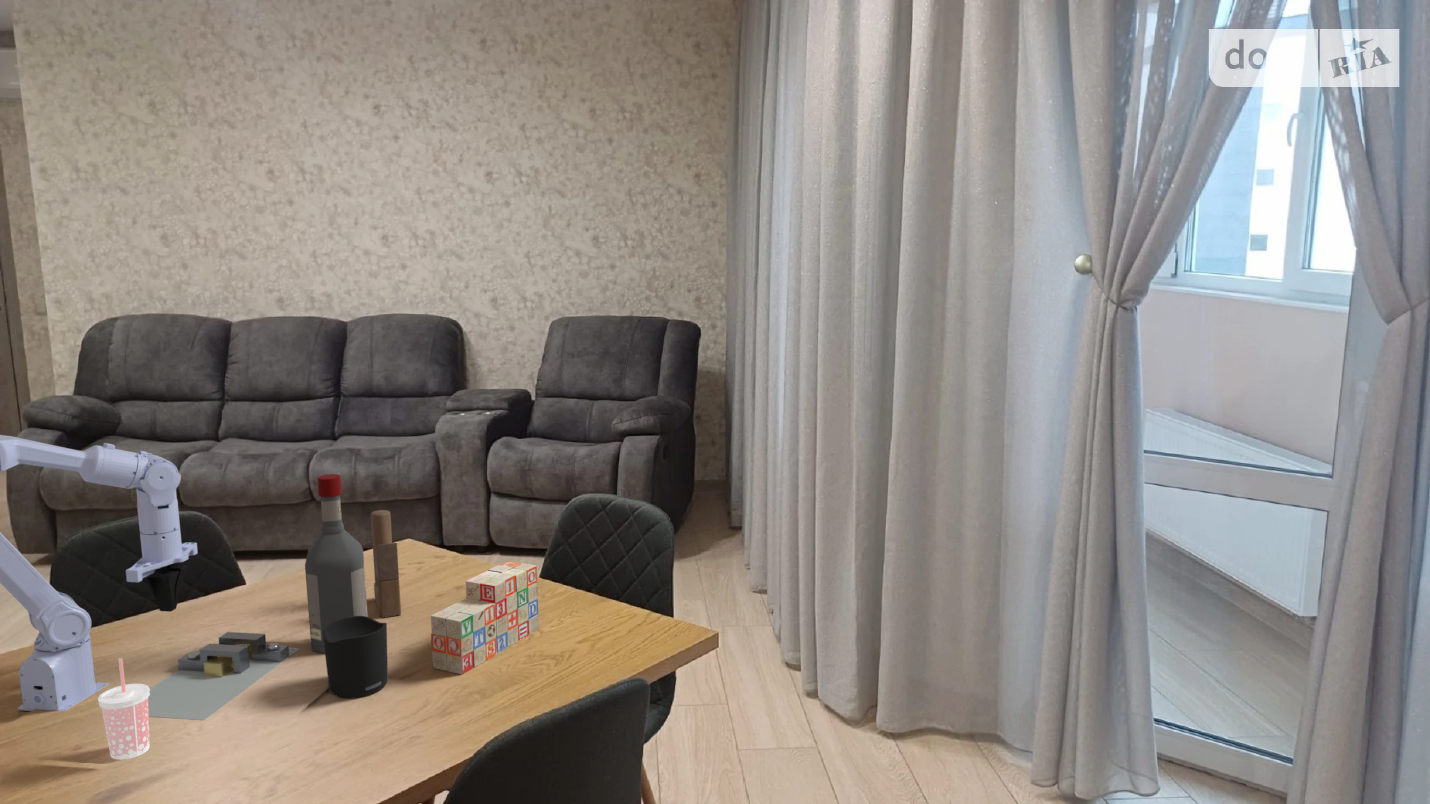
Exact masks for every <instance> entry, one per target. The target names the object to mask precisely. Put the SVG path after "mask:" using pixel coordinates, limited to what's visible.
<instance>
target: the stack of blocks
mask: <svg viewBox="0 0 1430 804" xmlns="http://www.w3.org/2000/svg"><path fill="white" fill-rule="evenodd" d="M538 582H539V581H538V566H537V565H535V564H531V563H530V564H529V563H522V562H517V561H507V562H504V563H502V564H498V565H495V566H493V567H491V568H489V569H488V570H486V571H483V572H482V573H480V574H478V575H476V576H473V577H471V578H469V579H468V580H466V581H465V594H466V595H465V598H464V599H461V600H460V601H458V602H456V603H453V604H452V605H449V606H448V607H444V608H443V609H442V610H440V611H437V612H435V613H434V614H431V615H430V624H431V625H430V626H431V633H430V638H431V639H430V640H431V641H430V642H431V654H432V655H431V656H432V668H433V669H436V670H437V669H438V670H441V671H446V672H449V673H454V674H459V675H463V674H465V673H467V672H468V671H470V670H471V669H473V668H475V667H478V666H479V665H481V664H483V663H484V662H485V661H488V660H489V658H490V659H491V658H493V657H495V656H496V655H495V654H497V653H498V652H499V651H501V652H502V650H503V649H505V648H506V647H508V646H509V645H511V644H513V645H514V643H515V642H516V641H518V642H520V641H521V640H520V639H522V638H523V637H525V638H527V637H529V636H530V635H529V634H531V635H532V634H534V633H536V632H537V631H539V630H540V623H539V622H540V621H539V619H540V618H539V617H540V616H539V585H538ZM538 629H539V630H538ZM536 630H537V631H536ZM535 631H536V632H535ZM533 632H534V633H533ZM528 635H529V636H528ZM526 636H527V637H526ZM519 640H520V641H519ZM522 640H523V639H522ZM516 643H517V642H516ZM516 643H515V644H516ZM511 646H512V645H511ZM508 648H509V647H508ZM506 649H507V648H506ZM506 649H505V650H506ZM503 651H504V650H503ZM498 654H499V653H498ZM494 655H495V656H494ZM487 659H488V660H487ZM477 665H478V666H477Z"/></svg>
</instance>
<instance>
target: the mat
mask: <svg viewBox="0 0 1430 804" xmlns="http://www.w3.org/2000/svg"><path fill="white" fill-rule="evenodd" d="M300 649H301V648H299V647H289V657H287V658H286V659H285V660H283V661H282V662H268V661H252V658H249V666H250V667H249V668H248V669H246V670H245V671H244V672H242V673H241V674H235V673H233V670H232V671H231V672H229V673H228V674H226V675H225V676H223V677H210V676H205V672H201V671H184V670H179V669H178V670H177V671H175V672H173V673H171V674H170V675H168V676H167V677H165V678H164V679H162V680H161V681H159V682H157V683H156V684H155V685H153V686H152V687H149V688H150V691H149V693H150V695H149V697H148V708H149V718H165V719H179V720H181V719H182V720H195V721H196V720H197V721H205V720H207V719H208V718H209V717H210V716H212V715H213V714H215V713H216V712H217V711H219V710H220V709H221V708H222V707H223V708H224V706H225V705H227V704H228V703H230V702H231V701H232V700H234V699H235V698H236V697H238V696H239V695H240V694H241V693H243V692H244V691H246V690H247V689H248V688H249V687H251V686H252V685H253V684H255V683H256V682H258V681H259V680H260V679H262V678H263V677H265V675H267V674H268V673H270V672H271V671H272V670H274V669H275V668H277V666H279V665H280V664H282V663H283V662H284V661H286V660H287V659H288V658H290V657H291V656H292V655H293V654H295V653H296V652H297V651H299V650H300Z"/></svg>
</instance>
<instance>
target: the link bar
mask: <svg viewBox="0 0 1430 804" xmlns="http://www.w3.org/2000/svg"><path fill="white" fill-rule="evenodd" d="M232 645H241V646H248V655H249V658H251V646H250V645H249V644H232ZM204 670H205V676H210V677H223V676H225V675H226V674H228V673H229V672H231V671H232V670H233V661H232V657H223V656H214V657H213V658H211V659H210V660H208V661H207V662H205V663H204Z"/></svg>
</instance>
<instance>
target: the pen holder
mask: <svg viewBox="0 0 1430 804" xmlns="http://www.w3.org/2000/svg"><path fill="white" fill-rule="evenodd" d="M323 640H324V648H325V654H324V656H325V665H326V674H327V680H328V688H329V691H330V692H331V694H333V695H334V696H335V697H338V698H343V699H353V698H354V699H355V698H356V699H357V698H358V699H359V698H364V697H368V696H371V695H374V694H376V693H378V692H379V691H381V690H383V689H384V688H385V687H386V685H387V684H388V675H389V674H388V626H387V622H379V621H378V620H375V619H374V618H372V617H369V616H368V617H366V616H352V617H346V618H342V619H339V620H336V621H333V622H331V623H329V624H328V625H326V626H325V627H324V629H323ZM382 688H383V689H382Z"/></svg>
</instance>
